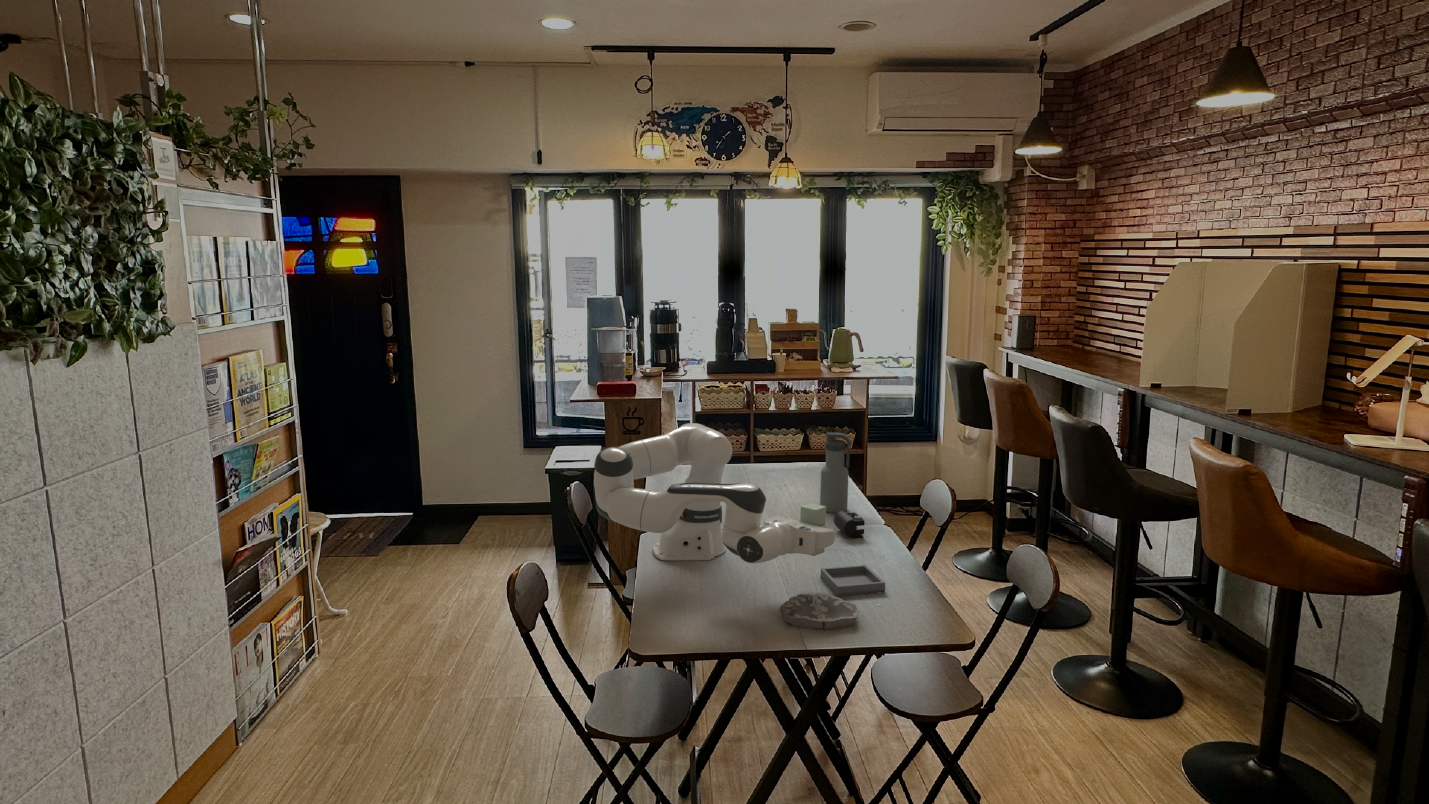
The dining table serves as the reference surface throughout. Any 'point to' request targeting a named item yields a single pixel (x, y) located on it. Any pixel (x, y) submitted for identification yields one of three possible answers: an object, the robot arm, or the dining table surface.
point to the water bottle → (835, 474)
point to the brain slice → (819, 611)
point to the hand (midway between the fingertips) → (814, 525)
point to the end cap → (849, 524)
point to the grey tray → (852, 580)
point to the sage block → (813, 518)
